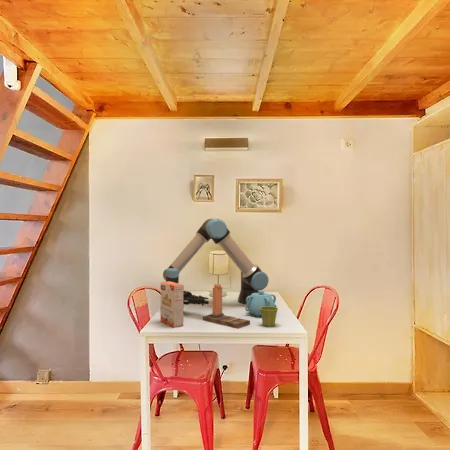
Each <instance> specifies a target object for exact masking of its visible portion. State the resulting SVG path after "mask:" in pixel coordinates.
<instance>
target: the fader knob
mask: <svg viewBox="0 0 450 450" xmlns="http://www.w3.org/2000/svg"><path fill="white" fill-rule="evenodd" d="M212 300H213V303H212V306H211V307H212V311H211V312H212V313H210V314H211V316H213V317H219V316H223V315H225V313H223V287H222V285H221V284H219V283H215V284H214V285H213V287H212Z"/></svg>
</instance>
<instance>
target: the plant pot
mask: <svg viewBox="0 0 450 450" xmlns="http://www.w3.org/2000/svg"><path fill="white" fill-rule="evenodd" d="M260 310H261V315H262V316H261V320H262V321H261V322H262V326H265V327H274V326H275V325H276V318H277V313H278V310H279V308H278V307H277V306H276V307H270V306H264V307H260ZM273 325H274V326H273Z"/></svg>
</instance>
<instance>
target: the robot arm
mask: <svg viewBox="0 0 450 450" xmlns="http://www.w3.org/2000/svg"><path fill="white" fill-rule="evenodd" d="M210 240H211V241H212V242H213V243H214V244H215V245H219V247H221V248H222V250H223V252H225V254H226V255H227V256H228V257H229V258H230V259H231V261H232V262H233V263H234V264H235V265H236V267H237V268H238V269H239V270H240V291H239V294H238V298H237V302H239V304H245V305H247V303H246V298H247V297H248V296H251V294H252V293H259V292H258V291H264V289H266V288H267V287H268V284H269V280H270V279H269V276H268V274H267V273H266V272H264V271H263V270H261V268H260V267H259V266H258V264H253V262H252V261H251V260H250V258H249V257H248V256H247V255H246V254H245V252H244V250H243V249H241V247H240V246H239V245H238V244H237V243H236V241H235V240H234V238H232V236H231V231H230V230H229V229H228V226H227V223H226V222H225V221H224V220H223V219H220V218H215V217H214V218H209V219H206V220H205V221H204V222H203V223H202V225H201V226H200V227H199V228H198V230H197V231H196V232H195V235H194V237H193V238H192V239H191V241H190V242H189V243H188V244H187V245H186V246H185V247H184V248H183V250H182V251H181V252H180V253H179V255H178V256H177V257H176V258H175V259H174V260H173V261H172V263H171V264H170V265H169V266H168V267H167V268H166V269H165V270H164V271H162V278H163V279H164V281H165V282H167V281H171V282H174V283H178V284H180V283H179V282H180V281H179V279H180V273H181V272H182V271H183V269H184V268H185V267H186V266H187V265H188V263H189V262H191V260H192V258H193V257H195V255H196V254H198V251H199V250H200V249H201V248H203V246H204V244H206V243H208V242H209V241H210ZM248 301H249V299H248ZM212 303H213V299H210V298H209V297H205V296H202V295H195V294H192V292H190V291H187V290H183V305H185V306H187V305H190V304H192V305H201V306H204V305H205V306H210V307H212Z"/></svg>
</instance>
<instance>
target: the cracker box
mask: <svg viewBox="0 0 450 450" xmlns="http://www.w3.org/2000/svg"><path fill="white" fill-rule="evenodd" d="M183 291H185V290H184V284H182V283H179V284H178V283H174V282H171V281H167V282H166V281H161V282H160V322H161V323H163V324H166V325H168V326H170V327H172V328H179V327H182V326H183V327H184V304H183Z"/></svg>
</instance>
